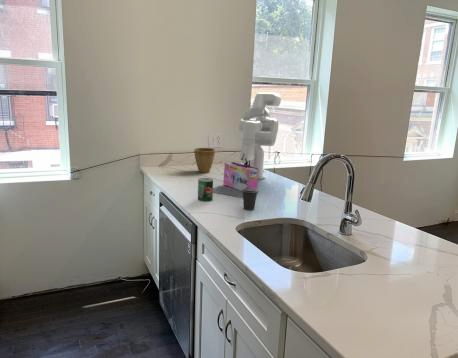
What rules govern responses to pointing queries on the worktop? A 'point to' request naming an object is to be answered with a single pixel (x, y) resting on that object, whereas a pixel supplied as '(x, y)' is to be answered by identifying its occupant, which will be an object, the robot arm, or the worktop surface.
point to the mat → (228, 191)
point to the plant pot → (204, 159)
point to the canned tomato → (205, 189)
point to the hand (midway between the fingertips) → (246, 171)
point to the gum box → (240, 176)
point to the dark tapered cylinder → (249, 198)
